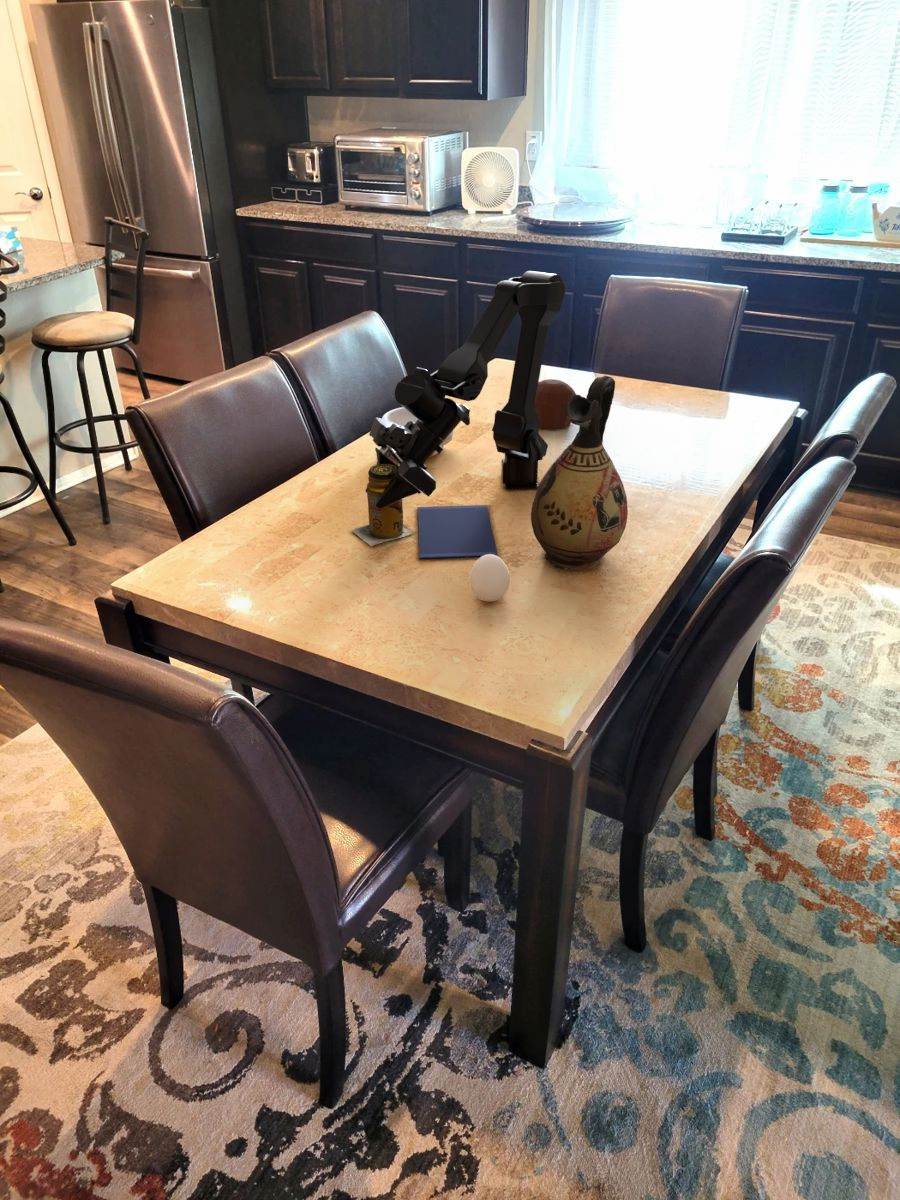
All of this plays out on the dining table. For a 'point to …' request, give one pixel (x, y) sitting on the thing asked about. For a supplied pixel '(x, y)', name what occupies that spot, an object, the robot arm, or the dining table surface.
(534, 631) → the dining table surface
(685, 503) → the dining table surface
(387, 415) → the paper bowls
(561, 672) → the dining table surface
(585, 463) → the ceramic jug
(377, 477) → the condiment
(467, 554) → the cloth
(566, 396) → the muffin
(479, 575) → the egg
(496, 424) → the robot arm
